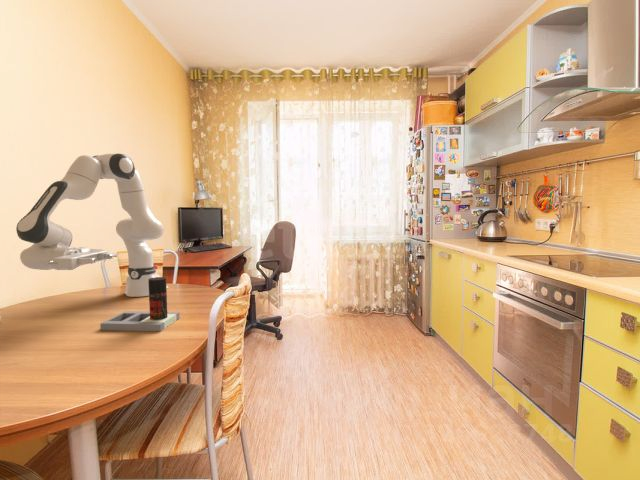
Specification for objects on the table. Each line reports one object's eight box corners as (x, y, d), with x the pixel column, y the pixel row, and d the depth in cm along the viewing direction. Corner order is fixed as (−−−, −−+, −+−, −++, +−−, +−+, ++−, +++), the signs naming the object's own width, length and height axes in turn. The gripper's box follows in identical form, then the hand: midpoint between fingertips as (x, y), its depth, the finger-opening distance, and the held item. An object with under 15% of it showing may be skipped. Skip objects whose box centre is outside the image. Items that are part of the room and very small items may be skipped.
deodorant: (147, 317, 119) (145, 278, 118) (163, 314, 124) (162, 276, 122) (153, 321, 115) (152, 281, 114) (170, 317, 120) (169, 278, 118)
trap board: (125, 317, 127) (125, 311, 127) (179, 318, 126) (179, 312, 126) (100, 330, 113) (100, 323, 113) (160, 331, 112) (160, 324, 112)
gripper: (42, 254, 110) (81, 254, 110) (86, 246, 131) (119, 246, 130) (44, 272, 111) (83, 272, 111) (88, 261, 131) (120, 261, 131)
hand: (103, 258), depth 121 cm, fingers open, 8 cm apart
